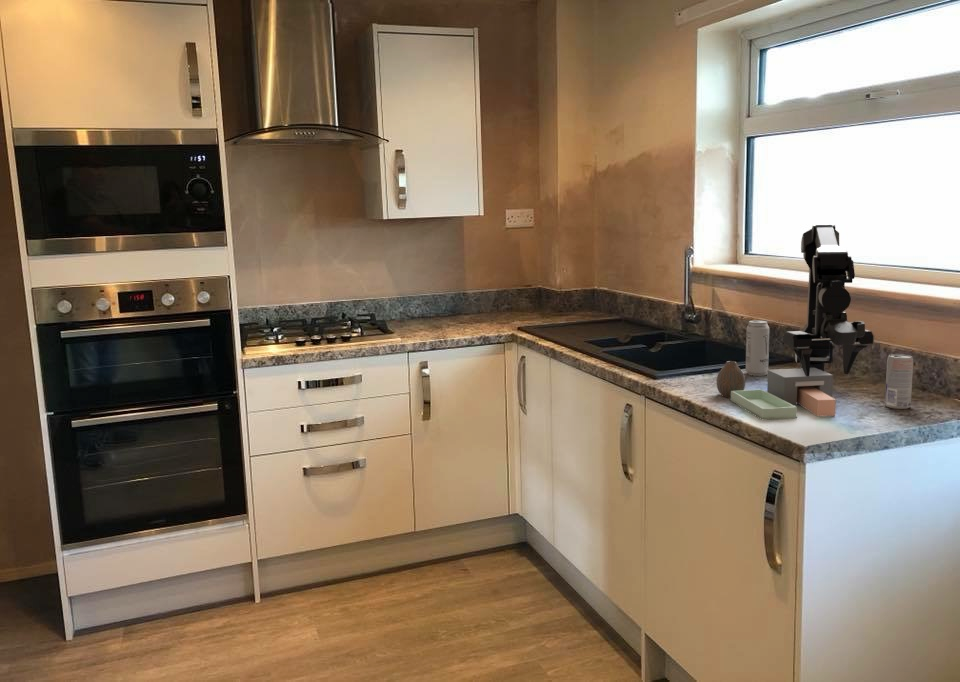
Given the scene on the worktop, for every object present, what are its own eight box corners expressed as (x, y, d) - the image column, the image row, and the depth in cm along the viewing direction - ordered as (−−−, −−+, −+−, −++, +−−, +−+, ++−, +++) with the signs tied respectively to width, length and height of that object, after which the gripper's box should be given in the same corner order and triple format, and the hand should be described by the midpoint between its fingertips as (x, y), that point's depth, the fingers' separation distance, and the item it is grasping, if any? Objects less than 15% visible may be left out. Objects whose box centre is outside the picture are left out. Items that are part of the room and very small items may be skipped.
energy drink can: (765, 377, 223) (766, 323, 220) (743, 375, 226) (744, 322, 223) (770, 372, 228) (771, 320, 225) (748, 371, 231) (749, 319, 228)
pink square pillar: (794, 402, 196) (795, 386, 195) (811, 401, 196) (811, 385, 195) (817, 417, 182) (817, 400, 181) (835, 416, 182) (835, 399, 181)
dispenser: (767, 397, 200) (767, 369, 199) (813, 394, 201) (814, 367, 200) (784, 406, 191) (785, 377, 189) (833, 404, 192) (834, 375, 190)
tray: (730, 400, 198) (730, 390, 197) (761, 399, 198) (762, 389, 198) (762, 419, 180) (762, 408, 180) (796, 417, 181) (796, 407, 180)
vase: (710, 394, 205) (711, 361, 203) (732, 391, 207) (732, 358, 206) (728, 400, 198) (729, 365, 197) (750, 397, 201) (751, 362, 200)
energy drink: (902, 403, 190) (905, 353, 188) (915, 408, 185) (918, 357, 183) (880, 404, 190) (882, 354, 188) (892, 409, 185) (895, 358, 183)
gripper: (807, 313, 171) (804, 384, 174) (890, 309, 173) (886, 380, 175) (783, 307, 182) (780, 374, 185) (861, 303, 184) (858, 370, 186)
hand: (826, 375), depth 182 cm, fingers open, 9 cm apart
